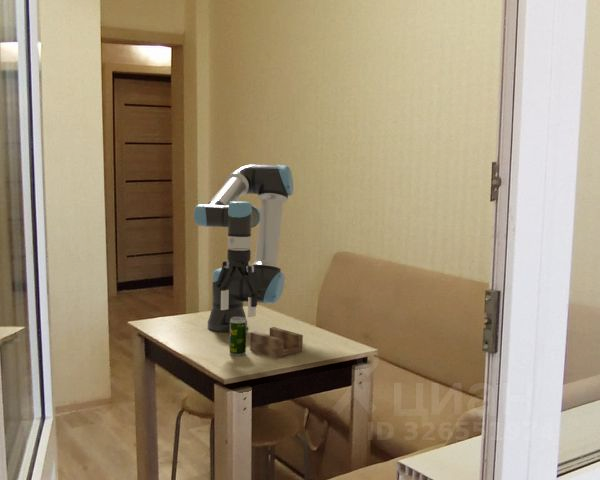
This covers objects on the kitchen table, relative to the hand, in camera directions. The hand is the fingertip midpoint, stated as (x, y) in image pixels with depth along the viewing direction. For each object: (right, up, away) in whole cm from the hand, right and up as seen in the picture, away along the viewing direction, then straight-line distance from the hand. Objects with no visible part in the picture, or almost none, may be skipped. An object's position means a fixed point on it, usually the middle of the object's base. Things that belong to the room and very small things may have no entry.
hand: (237, 313), depth 226 cm
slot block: (+12, -14, +7) cm, 19 cm away
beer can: (0, -14, +2) cm, 14 cm away
